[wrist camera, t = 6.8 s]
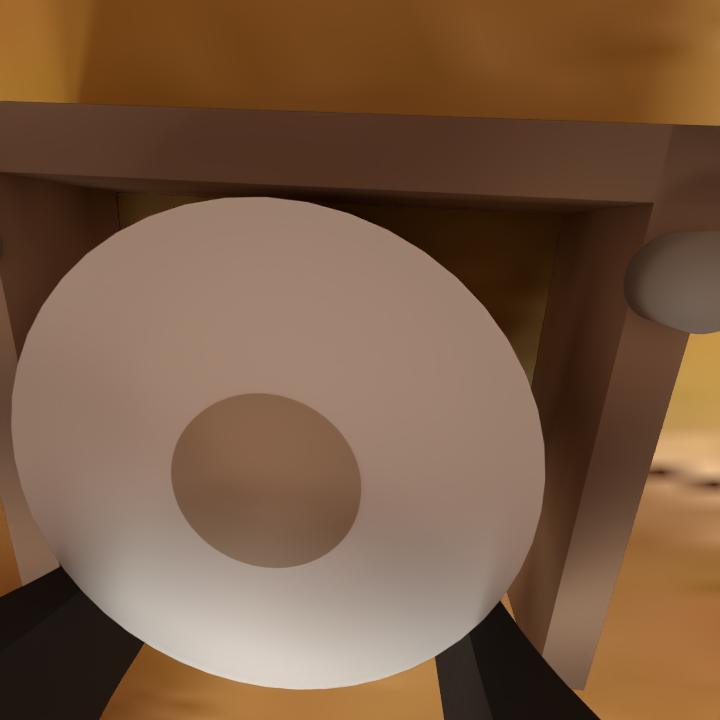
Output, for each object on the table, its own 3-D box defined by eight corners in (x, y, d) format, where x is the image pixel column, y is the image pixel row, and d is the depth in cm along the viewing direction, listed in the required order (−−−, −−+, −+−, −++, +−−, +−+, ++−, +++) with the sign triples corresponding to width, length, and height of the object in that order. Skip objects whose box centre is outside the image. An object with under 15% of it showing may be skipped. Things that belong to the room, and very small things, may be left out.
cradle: (539, 568, 14) (611, 737, 9) (117, 522, 15) (-11, 653, 10) (629, 167, 10) (826, 108, 6) (62, 144, 11) (-177, 77, 7)
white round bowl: (455, 518, 13) (501, 724, 8) (191, 491, 14) (45, 661, 8) (494, 234, 11) (604, 214, 5) (177, 215, 12) (-42, 179, 6)
